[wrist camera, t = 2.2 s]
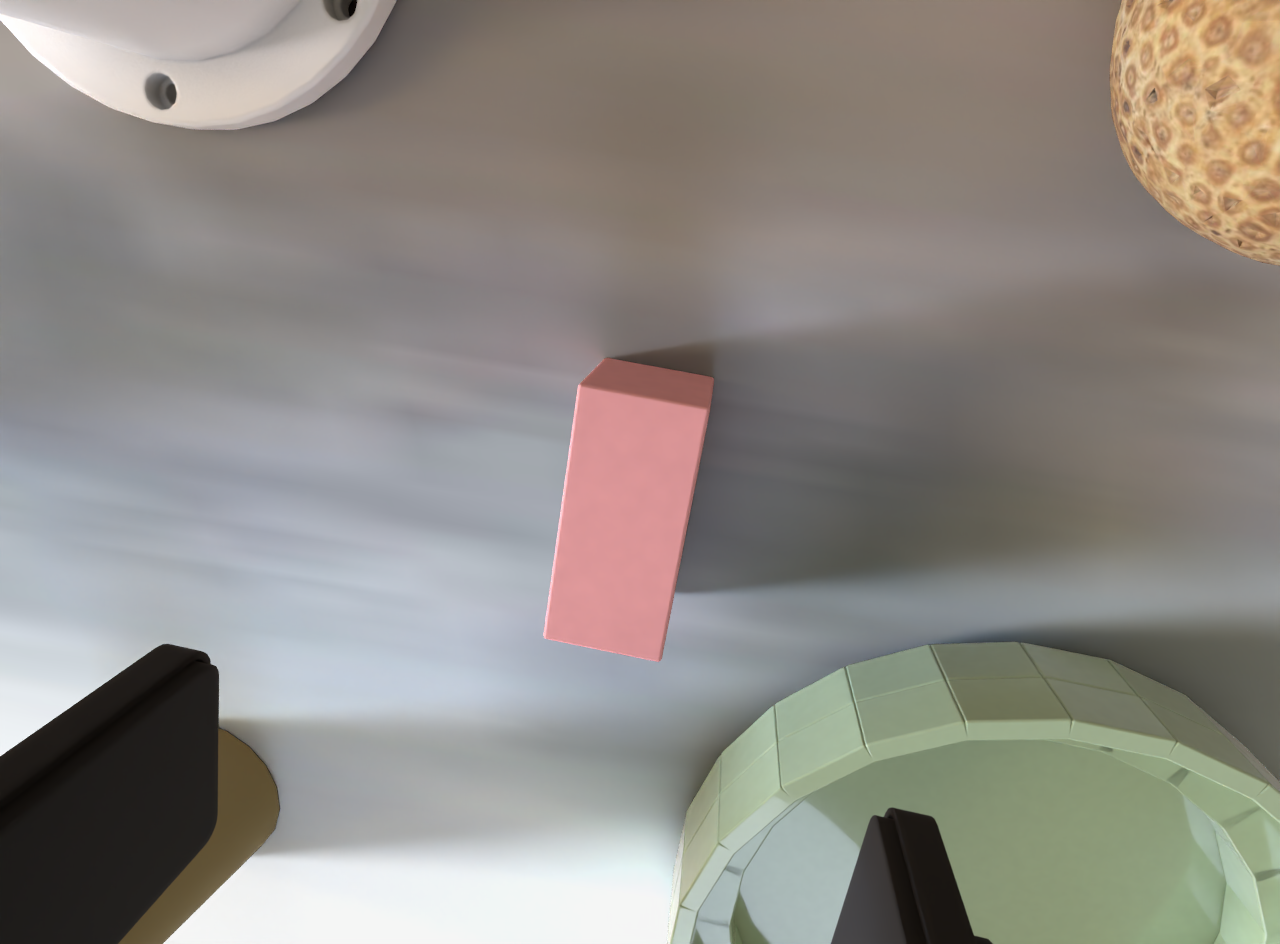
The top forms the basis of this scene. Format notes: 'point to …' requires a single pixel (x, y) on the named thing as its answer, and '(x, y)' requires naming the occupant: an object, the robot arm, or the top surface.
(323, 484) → the top surface
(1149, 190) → the natural sponge
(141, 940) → the cork
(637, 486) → the eraser
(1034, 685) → the bowl
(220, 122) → the robot arm
